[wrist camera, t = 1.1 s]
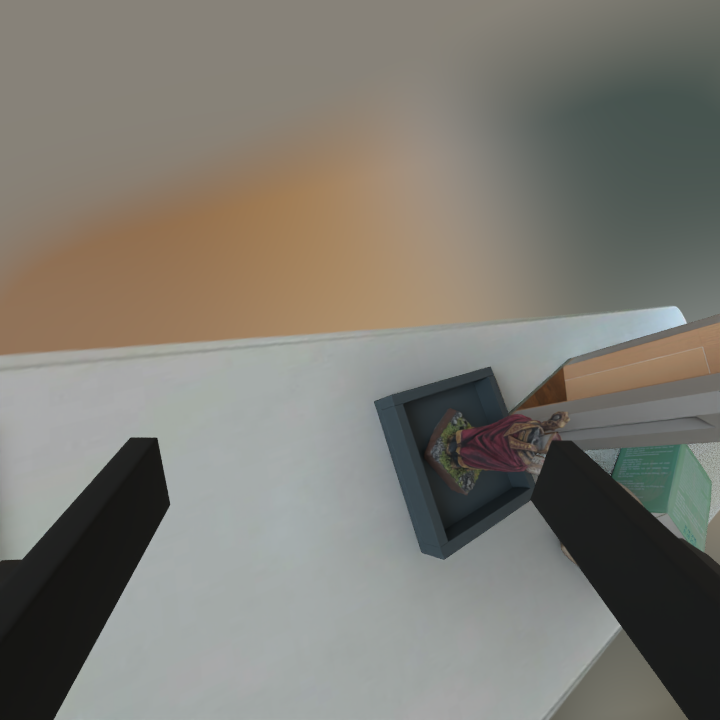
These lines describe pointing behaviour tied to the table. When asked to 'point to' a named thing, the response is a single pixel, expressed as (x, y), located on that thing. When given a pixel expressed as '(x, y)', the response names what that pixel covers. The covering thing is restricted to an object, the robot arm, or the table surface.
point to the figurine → (489, 447)
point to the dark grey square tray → (421, 482)
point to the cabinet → (638, 391)
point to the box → (669, 487)
